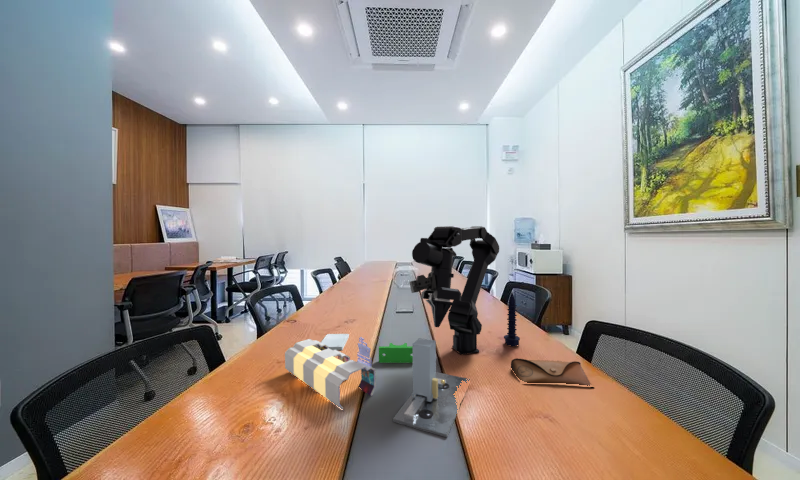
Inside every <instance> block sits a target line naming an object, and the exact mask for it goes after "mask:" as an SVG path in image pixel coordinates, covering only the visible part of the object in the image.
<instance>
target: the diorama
mask: <svg viewBox="0 0 800 480" xmlns="http://www.w3.org/2000/svg"><path fill="white" fill-rule="evenodd" d="M358 341H359V342H357V348H358V351H357V354H356V355H357V356H356V357H357V361H356V360H353V359H351V356H349V355H347V354H345V353H343V352H341V351H340V350H331V349H329V347H328V346H327V345H325V344H323V343H321V342H322V341H319V340H316V339H315V340H313V339H311V338H308V339H304V340H302V341H297V342H295V343H294V345H293V346H292V347H289V348H288V349H287V350H286V351H285V352H284V361H285V362H284V366H285V367H284V369H286V371H288V373H289V372H291V373H292V374H293V375H295V376H296V377H298V378H299V379H300V380H302V381H303V382H305V383H306V384H307V385H309V386H310V387H312V388H313V389H314V390H316V391H317V392H319V393H320V394H321V395H323V396H324V397H326V398H327V399H328V400H330V401H331V402H333V403H334V404H335V405H337V406H338V407H340V408H341V409H343V408H344V407H343V406H342V405H341V403H340V400H341V399H340V398H341V396H340V395H341V389H340V388H341V384H342V383H343V382H344V381H345V380H347V381H348V380H349V378H350V376H351V375H352V374H353V373H356V372H359V371H360V374H361V376H360V377H361V378H360V382H359V384H358V387H360V388H361V389H362V390H361V392H364V393H365V394H367V395H368V396H370V397H371V396H373V395H374V392H375V390H376V387H377V381H376V380H377V375H376V373H377V371H376V368H374V367H372V365H373V364H372V363H373V361H372V359H373V358H372V357H370V356H371V355H370V354H371V350H372V349H371V348H370V347H368V343H367V342H365V338H364V337H362V336H360V337H358ZM292 374H291V375H292ZM293 375H292V376H293ZM296 377H295V378H296ZM299 379H298V380H299ZM300 380H299V381H300ZM303 382H302V383H303ZM345 382H346V381H345ZM307 385H306V386H307ZM310 387H309V388H310ZM314 390H313V391H314ZM321 395H320V396H321ZM328 400H327V401H328Z"/></svg>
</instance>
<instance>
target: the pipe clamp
mask: <svg viewBox="0 0 800 480" xmlns="http://www.w3.org/2000/svg"><path fill="white" fill-rule="evenodd" d="M378 363H379V364H384V363H386V364H390V363H391V364H393V363H394V364H395V363H396V364H399V363H400V364H402V363H403V364H411V363H412V364H413V345H411V346H409V345H408V343H407V342H404V343H402V344H399V345H397V344H394V343H393V342H389V345H387V346H385V345H383V346H378Z"/></svg>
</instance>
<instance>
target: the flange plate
mask: <svg viewBox="0 0 800 480" xmlns="http://www.w3.org/2000/svg"><path fill="white" fill-rule="evenodd" d="M436 379H438V397H437V399H435V398H433V400H432V401H431V402H429V401H427V396H423V395H417V396H416V398H413V397H412V393H410V396H409V397H408V398H407V399H406V401H405V402H404V404H403V405H402V407H401V408H400V409H399V410H398V412H396V414H395V416H394V417H393V418H392V422H394V423H397V424H399V425H403V426H406V427H409V428H413V429H416V430H420V431H422V432H423V431H424V432H427V433H430V434H434V435H437V436H440V437H443V438H448V436H449V433H450V431H451V428H452V426H453V424H454V422H455V420H456V417H457V415H458V413H457V410H458V409H457V405H456V403H457V402H456V400H455V399H456V398H455V397H454V396H455V395H453V394H454V393H455V391H457V387H456V386H458V388H459V385H460V383H462V382H461V381H462V380H463V381H465V382H466V381H467V380H468V379H469V380H470V379H471V378H468V379H467V377H462V376H456V375H453V374H449V373H448V374H447V373H442V372H438V371H436ZM466 379H467V380H466ZM469 380H468V381H469ZM466 383H467V382H466ZM460 386H461V385H460ZM455 402H456V403H455ZM456 414H457V415H456Z"/></svg>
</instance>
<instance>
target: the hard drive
mask: <svg viewBox="0 0 800 480" xmlns="http://www.w3.org/2000/svg"><path fill="white" fill-rule="evenodd" d="M349 337H350V334H349V333H328V334H326V335H325V336H324V338H323V339H322V340H321V341H320V342H321V343H323V344H325V345H327V346H328V347H329V349H331V350H337V351H343V350H344V347H346V344H347V342H348V340H349Z"/></svg>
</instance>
